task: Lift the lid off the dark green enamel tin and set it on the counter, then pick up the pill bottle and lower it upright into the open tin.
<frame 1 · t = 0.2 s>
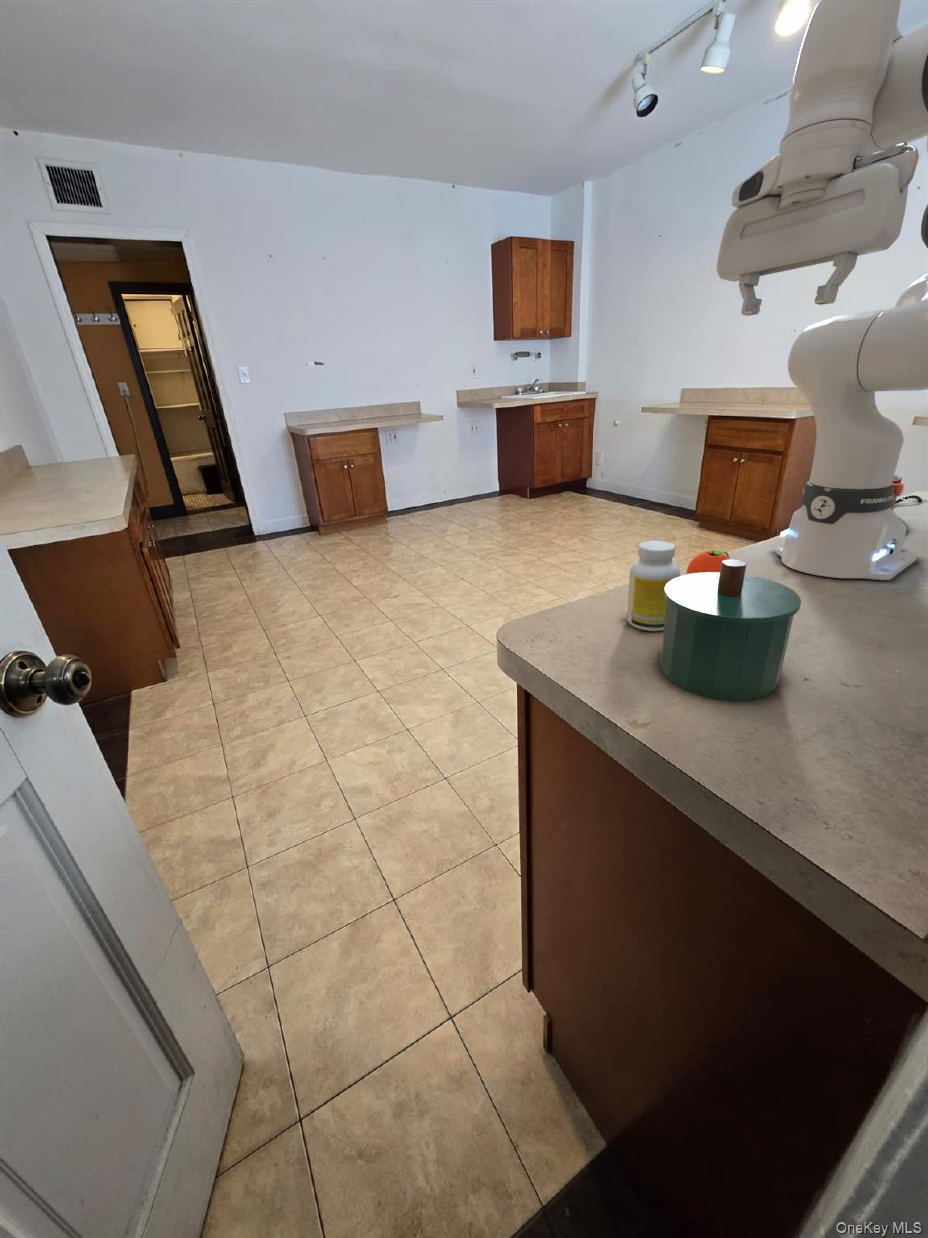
hand: (784, 309, 64), 39 cm above the countertop, tool pointing down, fingers open, 8 cm apart
clementine: (709, 594, 83), on the countertop
lid: (728, 597, 57), point 9 cm above the countertop, touching tin
pill bottle: (649, 624, 74), on the countertop
tin: (716, 671, 61), on the countertop
canned food: (859, 538, 103), on the countertop
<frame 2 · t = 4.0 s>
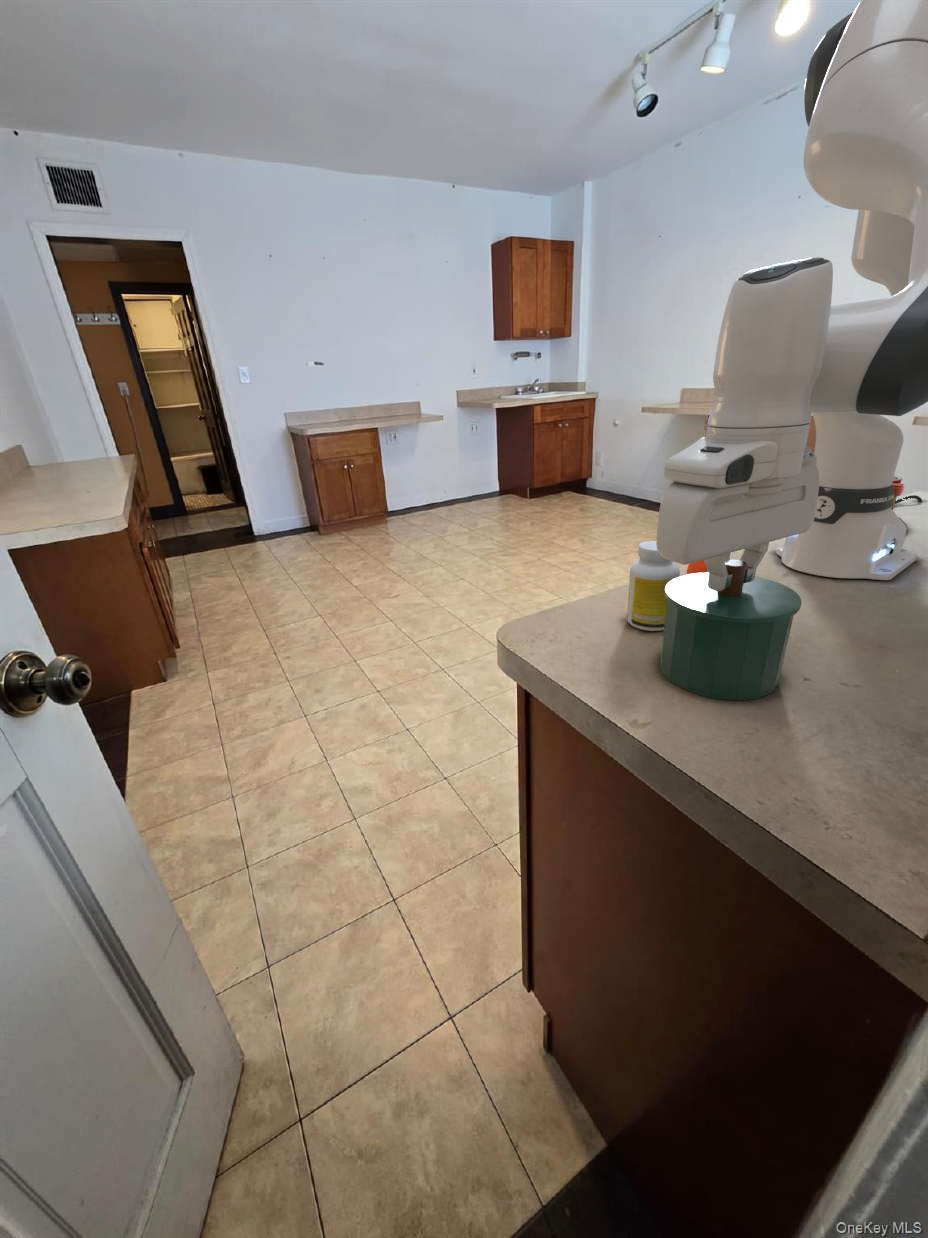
hand: (730, 585, 57), 11 cm above the countertop, tool pointing down, fingers closed on lid, 2 cm apart
lid: (728, 597, 57), point 10 cm above the countertop, touching gripper, tin
everything else where it was.
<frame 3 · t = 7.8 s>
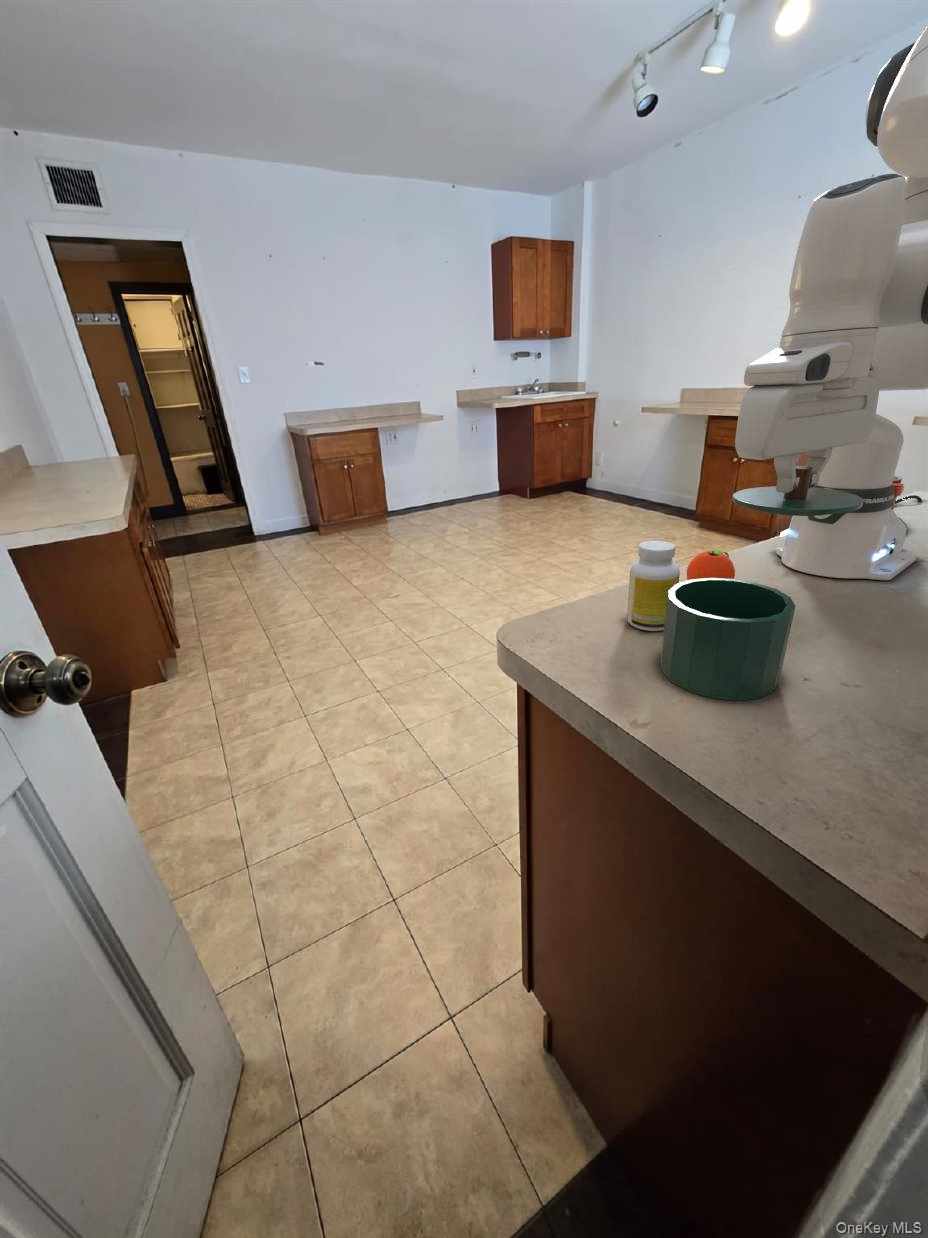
hand: (796, 489, 62), 19 cm above the countertop, tool pointing down, fingers closed on lid, 2 cm apart
lid: (793, 501, 63), point 17 cm above the countertop, touching gripper
everything else where it was.
when the fingers open (2 cm above the countertop, at t = 11.6 s): lid stays where it is, point 1 cm above the countertop.
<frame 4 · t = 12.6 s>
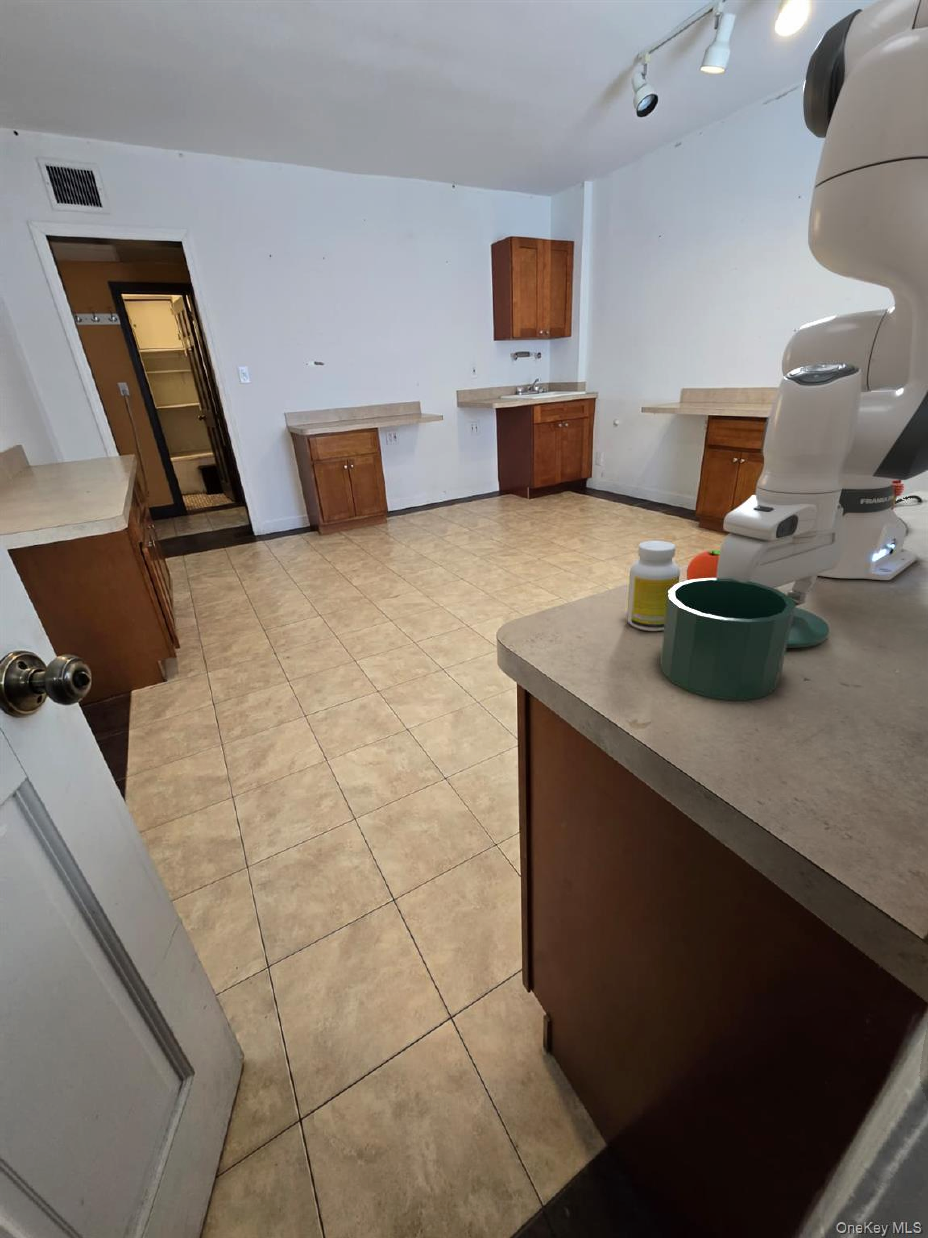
hand: (772, 612, 69), 2 cm above the countertop, tool pointing down, fingers open, 8 cm apart
lid: (768, 624, 70), point 1 cm above the countertop
everything else where it was.
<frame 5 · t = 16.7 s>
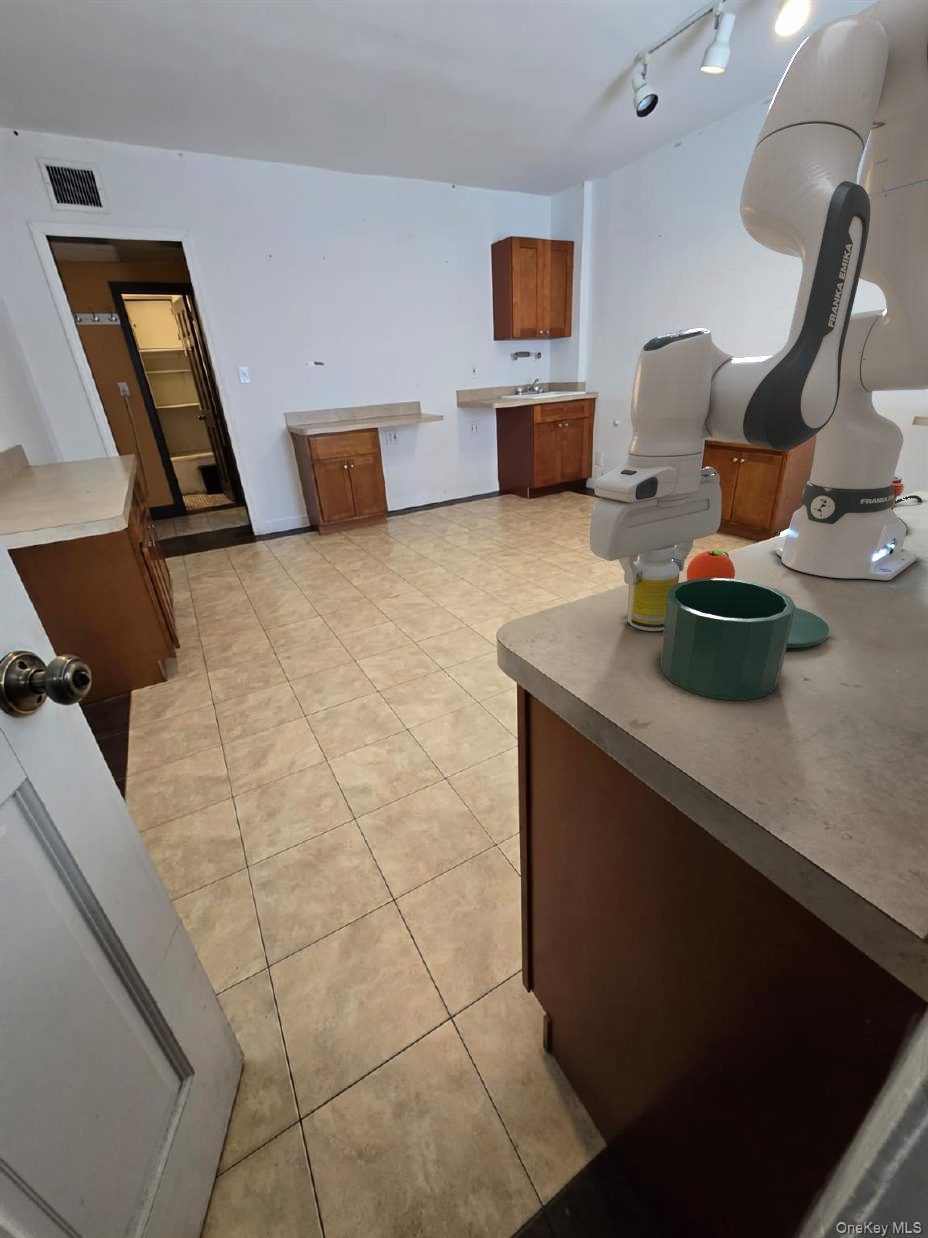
hand: (653, 577, 71), 7 cm above the countertop, tool pointing down, fingers closed on pill bottle, 6 cm apart
pill bottle: (649, 624, 74), on the countertop, touching gripper
everything else where it was.
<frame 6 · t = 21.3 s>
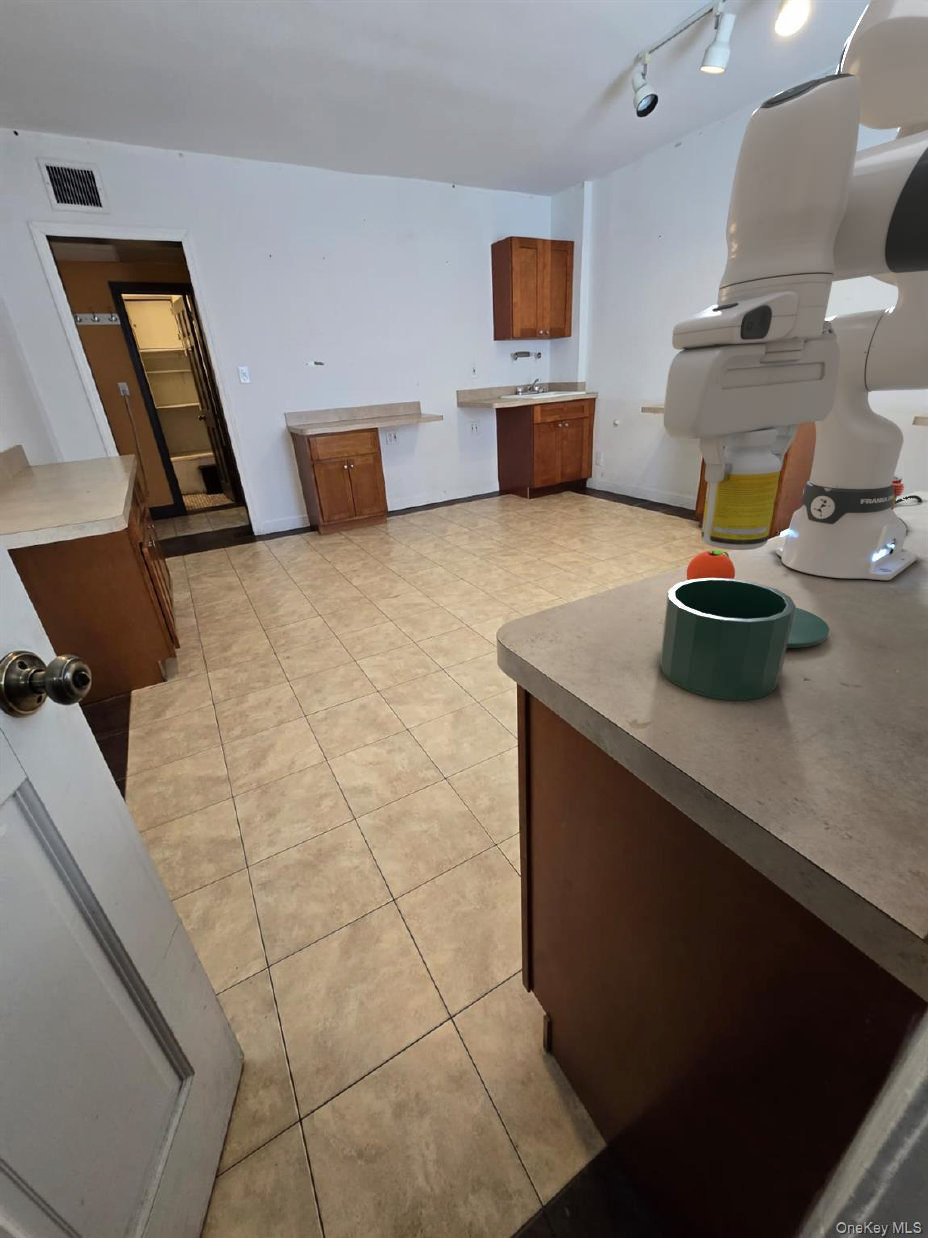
hand: (743, 476, 52), 23 cm above the countertop, tool pointing down, fingers closed on pill bottle, 6 cm apart
pill bottle: (732, 544, 55), point 15 cm above the countertop, touching gripper
everything else where it was.
when the fingers open (8 cm above the countertop, at t = 26.2 s): pill bottle stays where it is, resting on tin.
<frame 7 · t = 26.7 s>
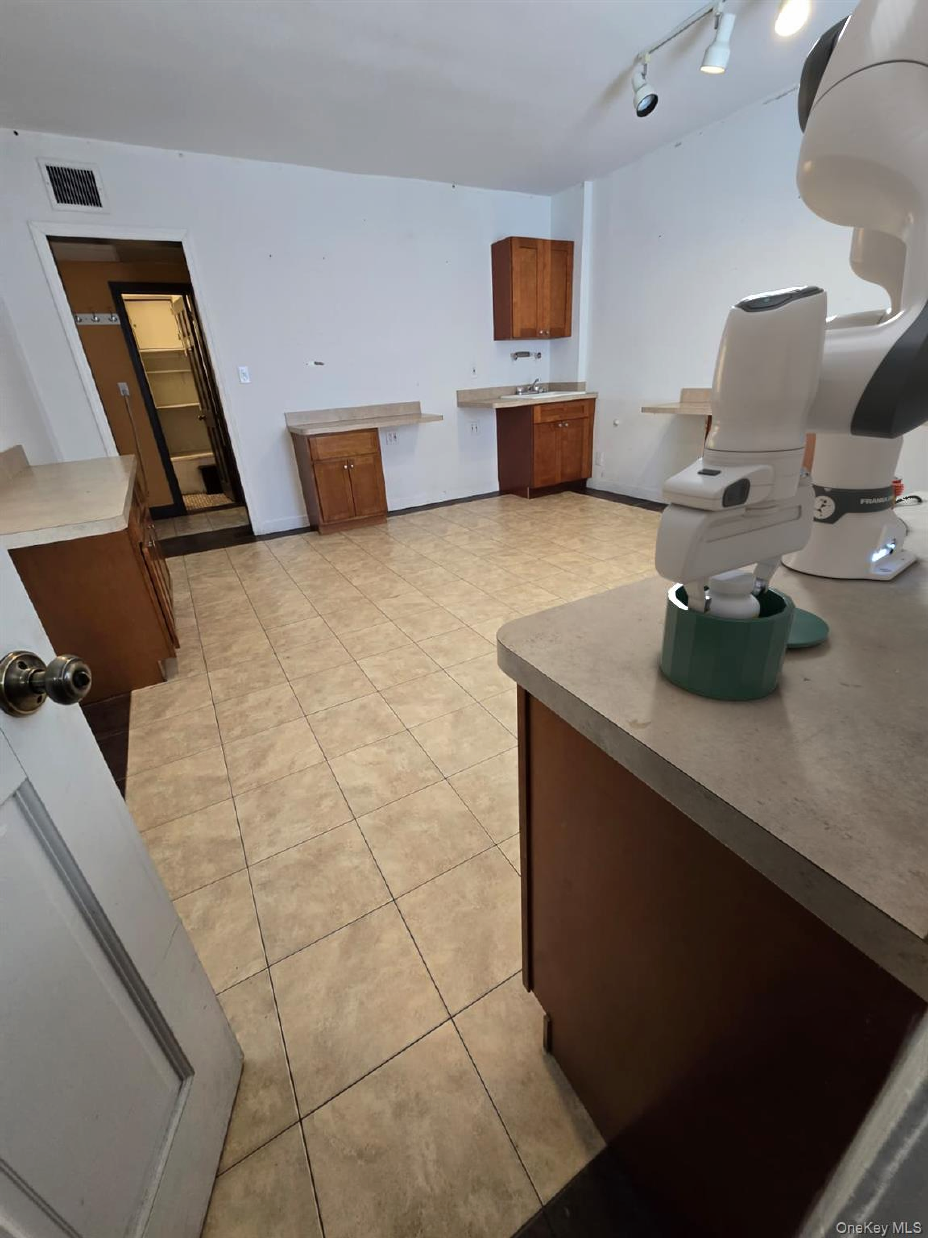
hand: (727, 602, 57), 9 cm above the countertop, tool pointing down, fingers open, 8 cm apart
pill bottle: (717, 668, 61), resting on tin
everything else where it was.
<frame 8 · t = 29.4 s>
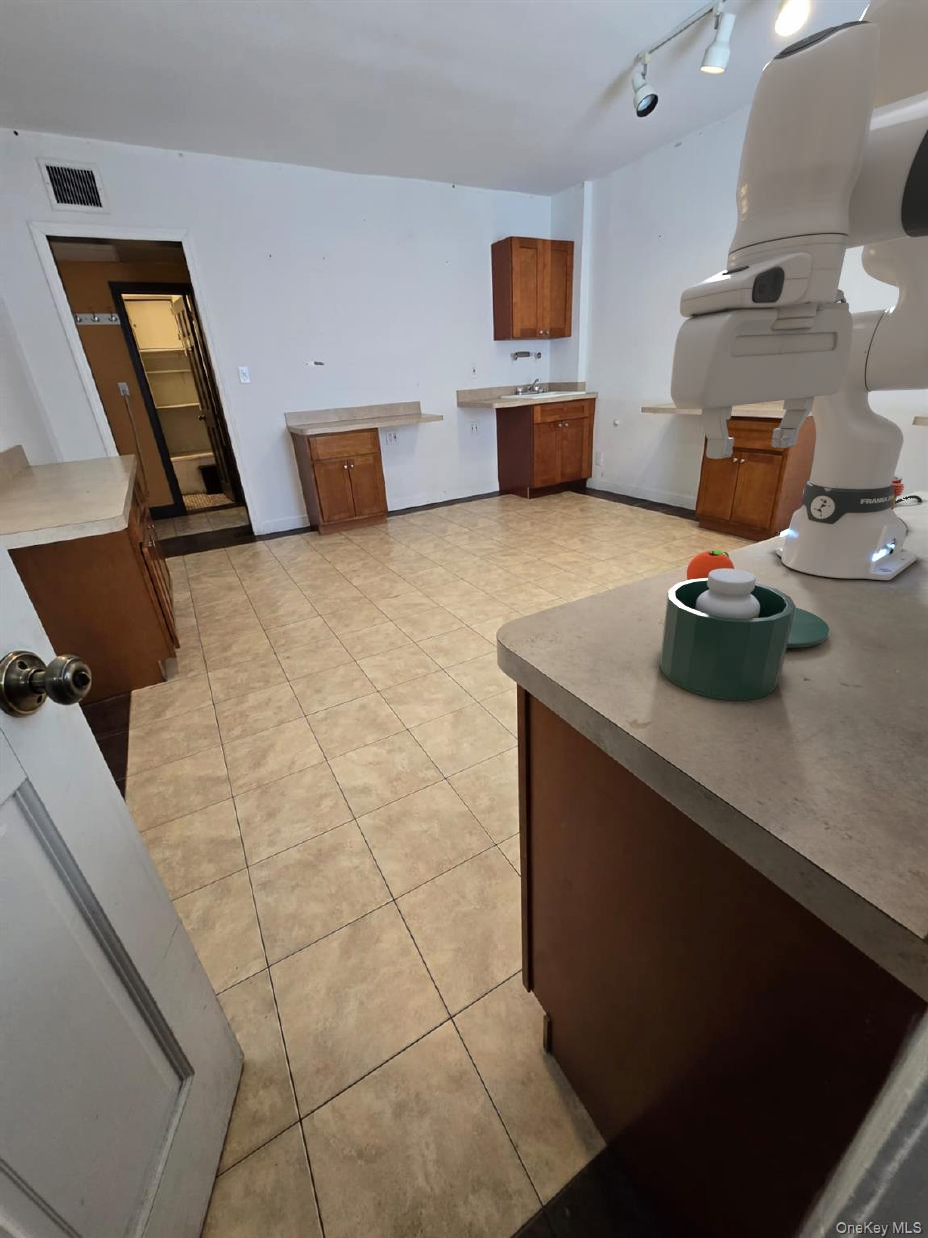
hand: (751, 452, 51), 25 cm above the countertop, tool pointing down, fingers open, 8 cm apart
nothing on the countertop moved.
at the end: lid inside the target area (0.2 cm from its centre), point 0.6 cm above the countertop; pill bottle 0.1 cm off-centre in the tin, point 0.3 cm above the tin's base; pill bottle tilted 0° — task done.
